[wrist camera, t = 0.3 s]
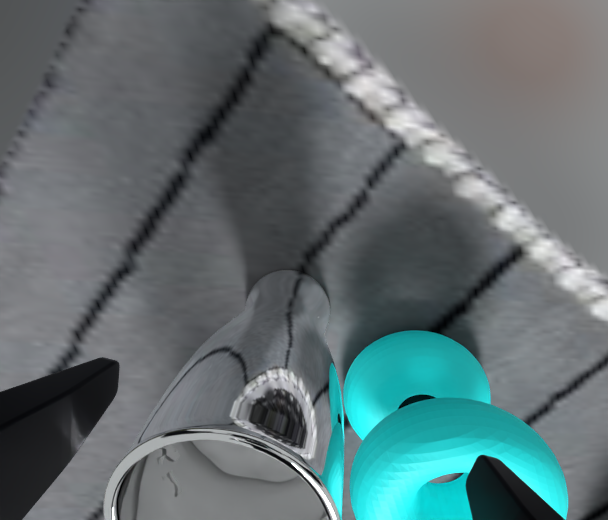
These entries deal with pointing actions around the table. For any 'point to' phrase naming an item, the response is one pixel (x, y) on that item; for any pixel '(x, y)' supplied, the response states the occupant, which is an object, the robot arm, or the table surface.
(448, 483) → the donuts
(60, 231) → the table surface
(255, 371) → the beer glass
